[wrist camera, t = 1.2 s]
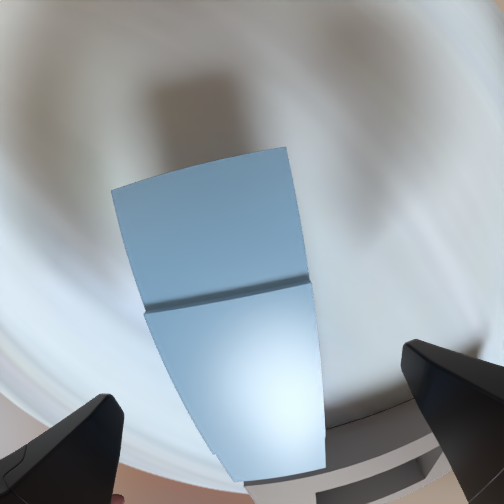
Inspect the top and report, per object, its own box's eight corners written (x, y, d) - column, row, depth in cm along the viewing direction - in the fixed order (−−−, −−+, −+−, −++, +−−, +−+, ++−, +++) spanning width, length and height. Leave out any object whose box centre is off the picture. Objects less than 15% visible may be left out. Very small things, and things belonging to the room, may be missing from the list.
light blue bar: (269, 160, 9) (287, 145, 5) (310, 410, 12) (326, 470, 8) (159, 186, 9) (107, 190, 5) (234, 424, 12) (233, 485, 8)
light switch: (475, 365, 12) (499, 388, 9) (436, 452, 15) (448, 472, 12) (243, 445, 12) (243, 486, 10) (273, 505, 15) (276, 531, 13)
